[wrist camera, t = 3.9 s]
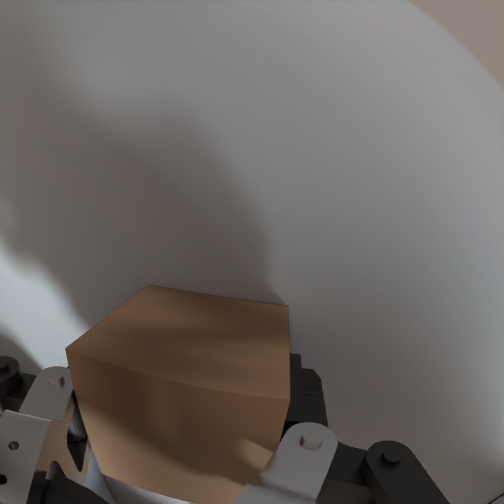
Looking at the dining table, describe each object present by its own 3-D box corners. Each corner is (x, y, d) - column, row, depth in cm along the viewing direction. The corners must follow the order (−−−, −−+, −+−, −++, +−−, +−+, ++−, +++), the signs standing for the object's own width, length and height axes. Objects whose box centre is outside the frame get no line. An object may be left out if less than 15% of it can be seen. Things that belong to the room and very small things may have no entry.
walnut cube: (288, 305, 10) (289, 399, 5) (268, 414, 11) (258, 513, 6) (148, 284, 10) (65, 348, 6) (152, 392, 12) (102, 473, 7)
